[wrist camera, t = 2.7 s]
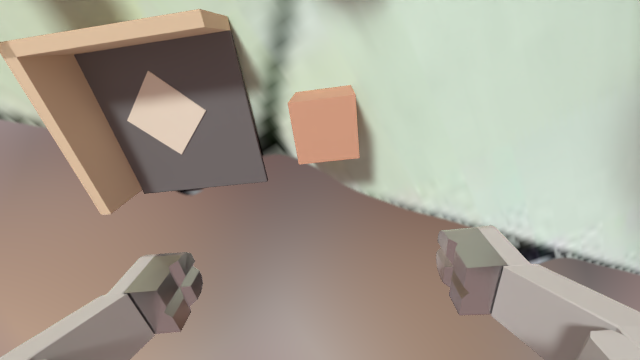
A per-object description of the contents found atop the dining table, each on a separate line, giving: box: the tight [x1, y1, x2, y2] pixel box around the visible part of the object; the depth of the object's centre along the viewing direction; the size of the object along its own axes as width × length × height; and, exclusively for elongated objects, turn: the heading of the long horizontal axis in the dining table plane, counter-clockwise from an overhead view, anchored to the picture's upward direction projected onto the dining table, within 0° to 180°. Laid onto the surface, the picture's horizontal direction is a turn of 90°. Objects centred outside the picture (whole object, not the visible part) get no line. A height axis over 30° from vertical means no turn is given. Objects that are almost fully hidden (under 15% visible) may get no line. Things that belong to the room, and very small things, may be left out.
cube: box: [288, 85, 360, 164], centre depth 22 cm, size 5×5×5 cm
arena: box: [0, 9, 268, 215], centre depth 23 cm, size 15×15×5 cm
